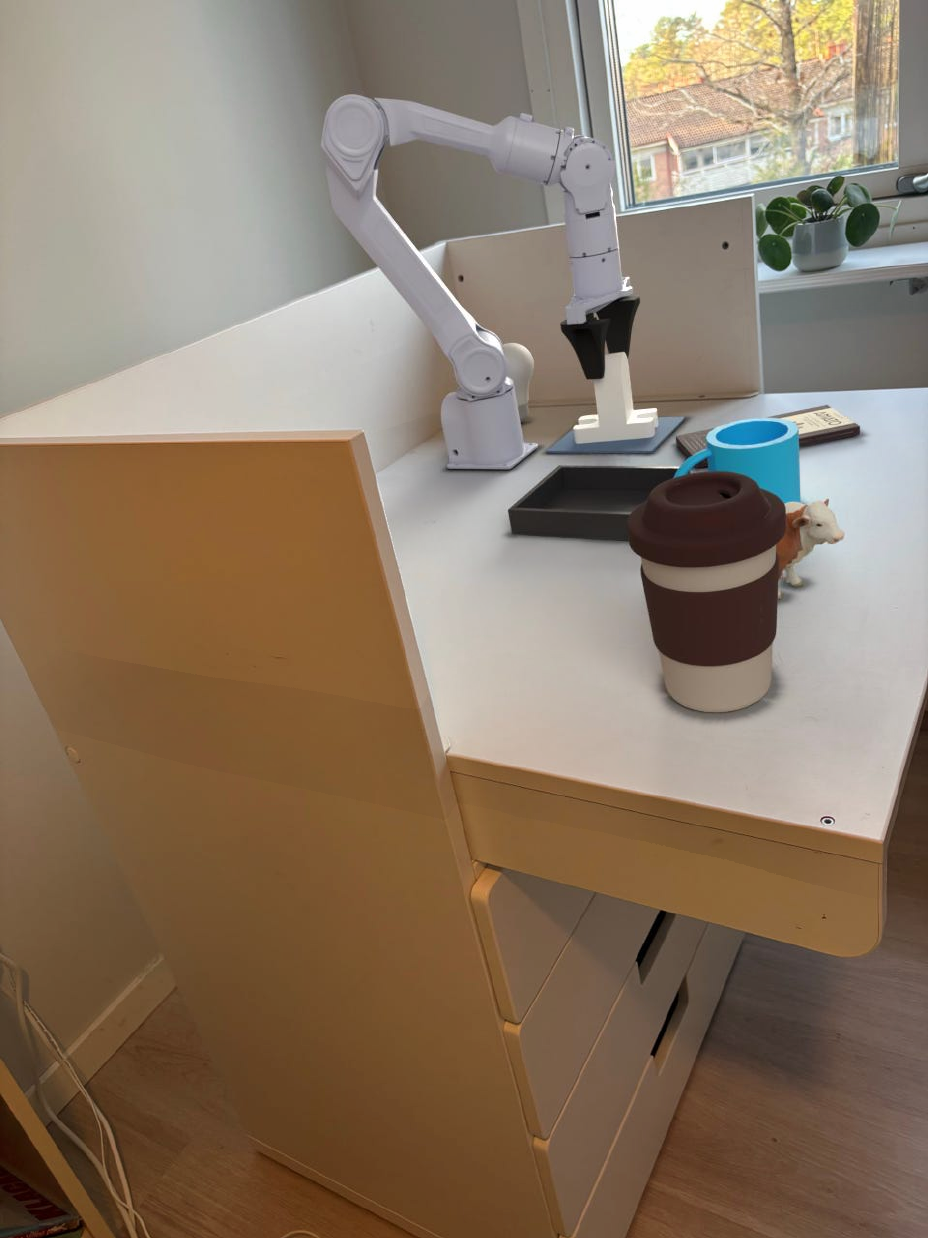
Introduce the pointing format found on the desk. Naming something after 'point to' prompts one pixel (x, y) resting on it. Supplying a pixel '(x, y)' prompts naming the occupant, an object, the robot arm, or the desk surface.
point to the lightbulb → (519, 374)
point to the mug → (755, 454)
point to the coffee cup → (711, 585)
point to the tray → (586, 501)
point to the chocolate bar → (810, 422)
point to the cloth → (620, 441)
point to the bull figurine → (805, 535)
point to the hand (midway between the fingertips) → (607, 368)
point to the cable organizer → (615, 408)
